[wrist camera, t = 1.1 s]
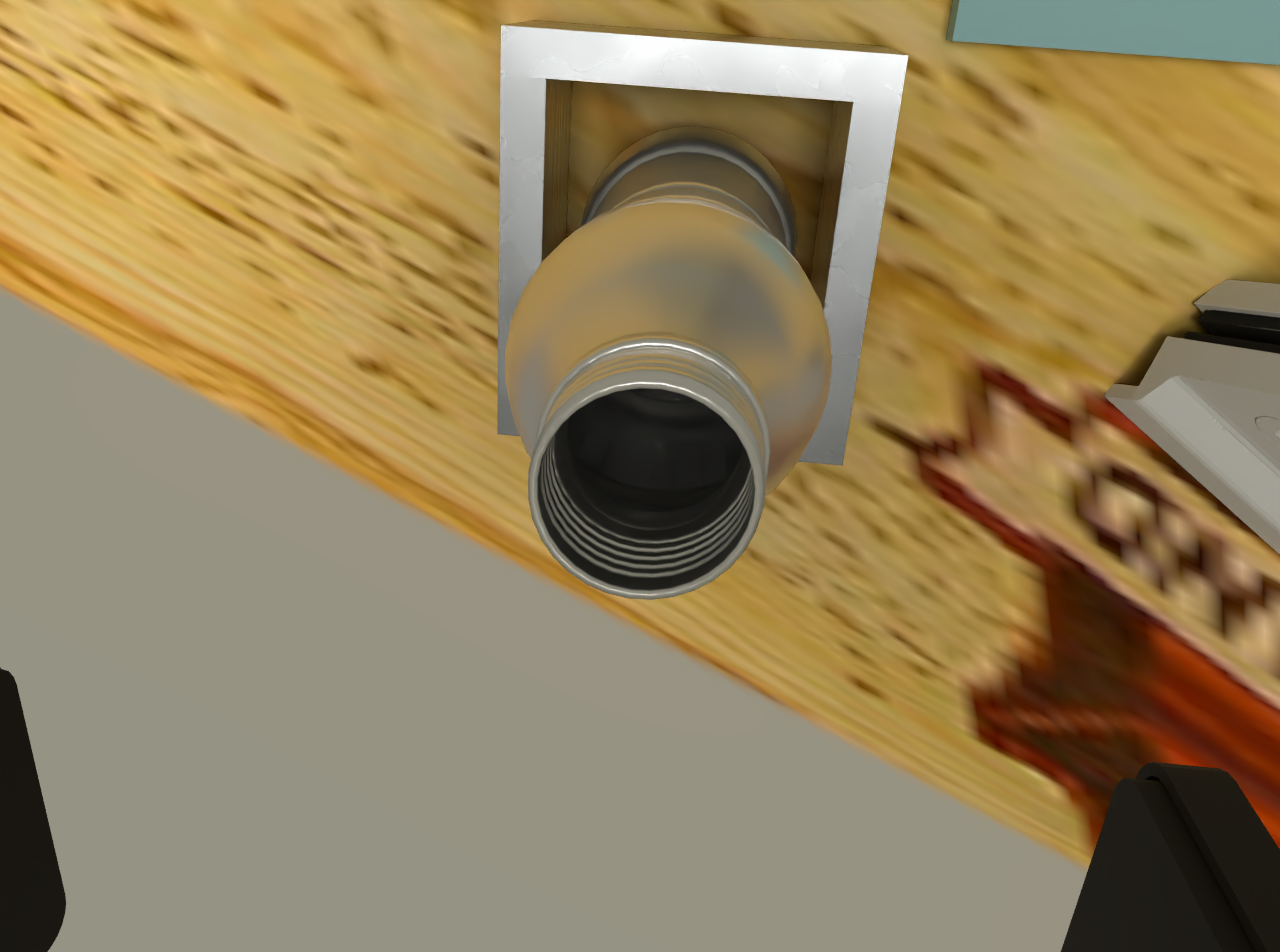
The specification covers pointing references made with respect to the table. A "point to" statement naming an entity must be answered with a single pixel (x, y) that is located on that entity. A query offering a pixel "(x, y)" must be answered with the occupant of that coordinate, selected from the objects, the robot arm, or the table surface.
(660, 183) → the plastic bottle
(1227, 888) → the robot arm
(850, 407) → the square socket
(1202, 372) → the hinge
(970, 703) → the table surface
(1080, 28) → the board
